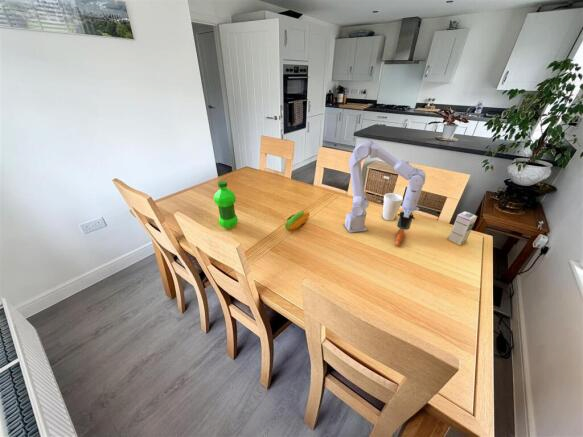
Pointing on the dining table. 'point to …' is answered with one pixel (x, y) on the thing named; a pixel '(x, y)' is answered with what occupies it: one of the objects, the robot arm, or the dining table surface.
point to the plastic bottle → (226, 206)
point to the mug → (406, 226)
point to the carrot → (399, 236)
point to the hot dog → (296, 221)
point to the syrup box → (462, 227)
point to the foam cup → (391, 205)
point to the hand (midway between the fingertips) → (404, 223)
